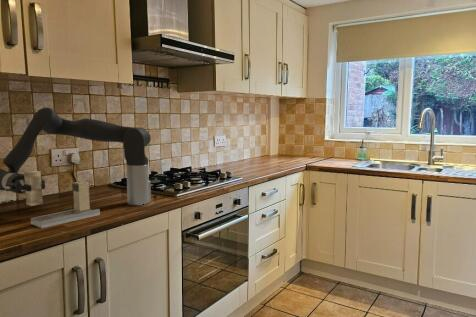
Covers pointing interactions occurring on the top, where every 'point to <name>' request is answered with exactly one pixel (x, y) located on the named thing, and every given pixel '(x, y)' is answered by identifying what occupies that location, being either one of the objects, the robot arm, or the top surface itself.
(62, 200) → the top surface
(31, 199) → the beige tall rectangular block
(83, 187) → the rail
